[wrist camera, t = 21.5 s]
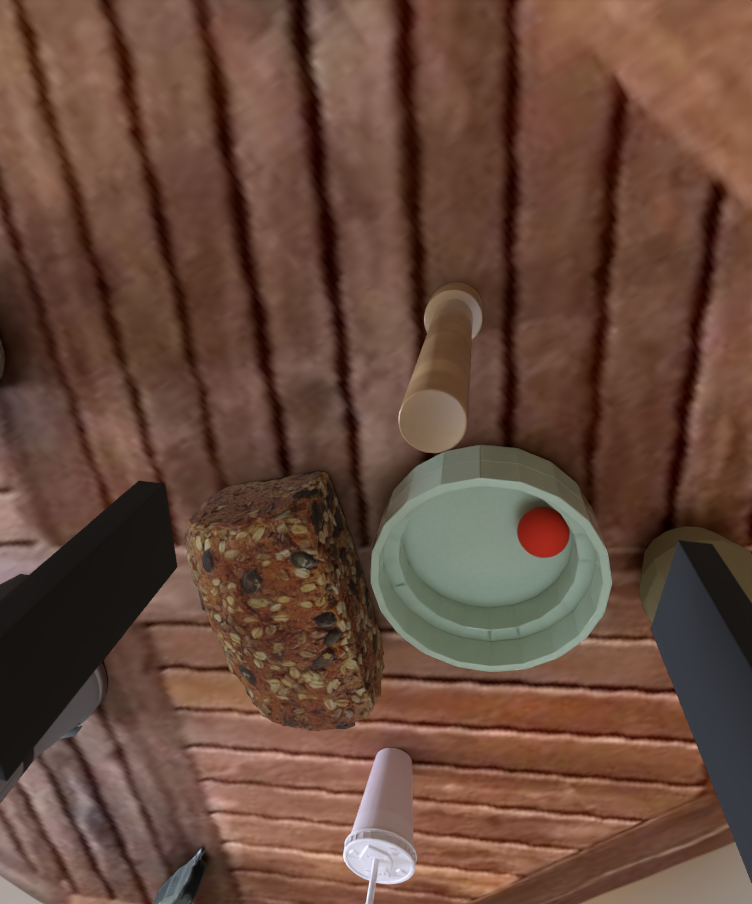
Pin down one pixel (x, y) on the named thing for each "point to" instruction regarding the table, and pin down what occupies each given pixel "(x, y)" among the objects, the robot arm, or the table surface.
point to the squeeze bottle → (660, 553)
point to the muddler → (442, 371)
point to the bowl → (487, 561)
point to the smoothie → (384, 824)
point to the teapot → (1, 358)
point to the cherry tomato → (543, 532)
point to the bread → (288, 600)
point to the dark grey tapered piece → (183, 882)
